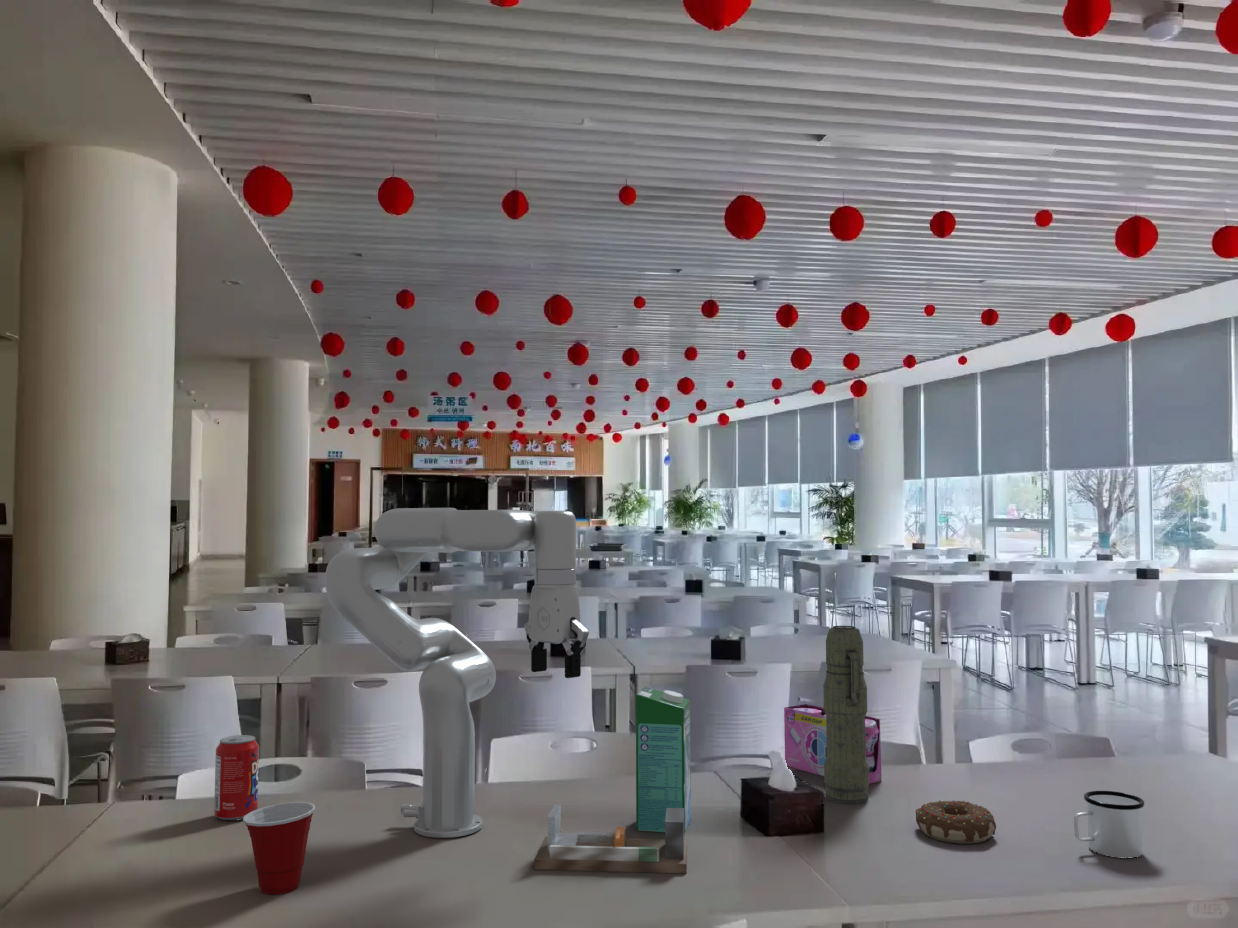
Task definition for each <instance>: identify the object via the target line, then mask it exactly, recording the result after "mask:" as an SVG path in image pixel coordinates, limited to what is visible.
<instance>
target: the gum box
mask: <svg viewBox="0 0 1238 928" xmlns="http://www.w3.org/2000/svg"><path fill="white" fill-rule="evenodd" d="M783 710H784V713H783V718H784V719H783V720H784V722H783V723H784V761H785V760H786V763H787V765H788V766H787V767H790V768H793V769H796V770H800V771H802V772H806V773H809V774H812V775H818V776H821V777H824V763H825V761H826V758H827V738H826V714H825V711H824V706H823V707H822V706H817V705H812V704H807V703H805V704H798V705H792V706H785V707H783ZM881 720H882V719H881V718H877V717H873V716H868V715H866V716H865V742H866V761H867V763H868V766H869V785H870V784H874V783H875V784H876V783H878V782H882V747H881V746H882V745H881V742H882V741H881Z"/></svg>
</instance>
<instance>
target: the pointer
mask: <svg viewBox="0 0 1238 928" xmlns="http://www.w3.org/2000/svg"><path fill="white" fill-rule="evenodd" d="M613 836H614V837H613V838H614V847H624V846H625V842H626V826H616V827H615V830H614V834H613Z"/></svg>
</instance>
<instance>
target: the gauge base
mask: <svg viewBox="0 0 1238 928" xmlns="http://www.w3.org/2000/svg"><path fill="white" fill-rule="evenodd" d="M687 867H688V839H685V833H684V808H667V809H666V818H665V832H664V838H663V839H662V838H626V842H625V846H624V847H614V837H607V843H605V842H579V845H578V846H568V845H550V853H548V835H547V836H545V837H544V839H543V840H542V843H541V845H540V847H539V849H538V850H537V853H536V855H535V857H534V860H533V869H534V870H542V871H543V870H545V871H546V870H547V871H548V870H549V871H550V870H551V871H580V872H581V871H584V872H585V871H586V872H593V871H594V872H616V873H617V872H622V873H623V872H627V873H628V872H629V873H656V874H657V873H662V874H687V872H688V871H687V870H688V868H687Z"/></svg>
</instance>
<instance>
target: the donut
mask: <svg viewBox="0 0 1238 928" xmlns="http://www.w3.org/2000/svg"><path fill="white" fill-rule="evenodd" d="M915 822H916V824H917V826H918V829H919V830H920V832H922V833H924V834H925V835H926V836H928V837H929V838H932V839H934V840H938V841H941V842H945V843H951V844H960V845H961V844H965V845H966V844H978V843H984V842H985V841H987V840H988V839H990V838H991V837H992V836H993V835H994V836H995V834H996V830H997V825H996V822H995V817H994V815H993V813H992V812H990V810H989V809H987V807H984V806H982V805H978V804H977V803H975V804H974V803H971V802H970V801H965V800H942V801H941V800H938V801H937V800H936V801H933V802H932V801H929V802H928V803H924V804H923V805H921V807H919V808H917V809H915Z"/></svg>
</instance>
